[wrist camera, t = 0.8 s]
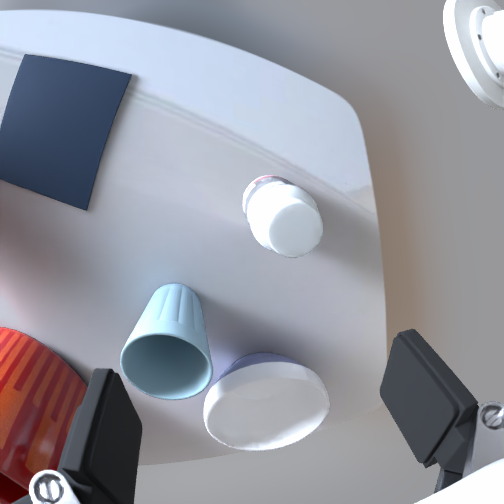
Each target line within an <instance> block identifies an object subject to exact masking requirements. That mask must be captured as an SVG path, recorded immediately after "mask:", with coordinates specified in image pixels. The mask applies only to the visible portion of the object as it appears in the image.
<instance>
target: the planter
mask: <svg viewBox="0 0 504 504" xmlns="http://www.w3.org/2000/svg"><path fill="white" fill-rule="evenodd" d="M87 388H88V387H87V386H86V384H85V383H84V381H83V380H82V379H81V378H80V376H79V375H78V374H77V373H76V372H75V371H74V369H73V368H72V367H71V366H70V365H69V364H68V363H67V362H65V361H64V360H63V359H62V358H61V357H60V356H59V355H58V354H56V353H55V352H54V351H52V350H51V349H50V348H48V347H47V346H45V345H44V344H42V343H41V342H39V341H37V340H36V339H34V338H32V337H30V336H28V335H26V334H24V333H22V332H19V331H16V330H13V329H9V328H5V327H0V504H11V503H13V502H15V501H17V500H19V499H21V498H23V497H25V496H26V495H28V494H30V492H29V486H30V482H31V480H32V478H33V477H34V476H35V475H36V474H37V473H39V472H40V471H44V470H54V471H57V469H58V465H59V462H60V458H61V455H62V452H63V448H64V445H65V442H66V439H67V436H68V433H69V430H70V427H71V424H72V421H73V418H74V415H75V412H76V410H77V408H78V407H79V406H80V405H81V404H82V401H83V398H84V396H85V393H86V390H87Z"/></svg>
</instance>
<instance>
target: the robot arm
mask: <svg viewBox="0 0 504 504" xmlns="http://www.w3.org/2000/svg"><path fill="white" fill-rule="evenodd" d="M470 31H471V37H472V41H473V44H474V47H475V50H476V53H477V55H478V57H479V59H480V61H481V63H482V65H483V67H484V69H485V70H486V72H487V73H488V75H489V76H490V77H491V79H492V80H493V81H494V82H495V83H496V84H497V85H498V86H500V87H501V88H503V89H504V10H502V11H498V12H497V11H495V10H494V9H492V8H490V7H487V6H481V7H478V8H475V9H474V10H473V12H472V14H471V17H470ZM380 395H381V398H382V400H383V401H384V403H385V405H386V406H387V408H388V410H389V411H390V413H391V415H392V417H393V419H394V420H395V422H396V424H397V425H398V427H399V429H400V431H401V432H402V434H403V436H404V438H405V439H406V441H407V443H408V445H409V446H410V448H411V450H412V452H413V453H414V455H415V457H416V459H417V461H418V462H419V463H423V465H424V466H425V468H427V467H429V466H431V465H433V464H436V463H437V462H438V463H439V465H440V467H441V469H440V473H439V477H438V480H437V484H436V488H435V491H434V494H433V495H431V496H429V497H427V498H425V499H423V500H421V501H419V502H417V503H415V504H504V405H503V404H501V403H500V402H496V401H489V402H485V403H484V404H482V405H481V406H480V408H479V406H478V405H477V404H478V402H477V400H476V399H475V398H474V397H473V395H472V394H471V393H470V392H469V391H468V389H467V388H466V387H465V386H464V385H463V383H462V382H461V381H460V380H459V379H458V377H457V376H456V375H455V374H454V373H453V372H452V370H451V369H450V368H449V367H448V366H447V365H446V364H445V362H444V361H443V360H442V359H441V358H440V357H439V356H438V354H437V353H436V352H435V351H434V350H433V349H432V348H431V346H430V345H429V344H428V343H427V342H426V341H425V340H424V339H423V338H422V336H420V334H419V333H418V332H417V331H416V330H415V329H410V330H407V331H402V332H399V333H398V334H397V337H396V338H394V340H393V344H392V348H391V352H390V356H389V360H388V363H387V367H386V370H385V374H384V377H383V381H382V384H381V387H380ZM141 437H142V423H141V420H140V418H139V416H138V414H137V412H136V410H135V408H134V406H133V404H132V402H131V400H130V398H129V396H128V393H127V391H126V389H125V387H124V385H123V382H122V380H121V378H120V375H119V374H118V373H115V372H114V371H113V370H112V369H95V370H94V372H93V374H92V377H91V380H90V382H89V385H88V388H87V390H86V393H85V396H84V398H83V401H82V404H81V405H80V406H79V407H78V408H77V410H76V412H75V415H74V418H73V421H72V424H71V427H70V430H69V433H68V436H67V439H66V442H65V445H64V448H63V452H62V455H61V458H60V462H59V465H58V469H57V471H54V470H44V471H40V472H39V473H37V474H36V475H35V476H34V477H33V478H32V480H31V482H30V486H29V492H30V494H28V495H26V496H25V497H23V498H21V499H19V500H17V501H15V502H13V503H11V504H134V495H135V486H136V475H137V467H138V459H139V451H140V444H141Z"/></svg>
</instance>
